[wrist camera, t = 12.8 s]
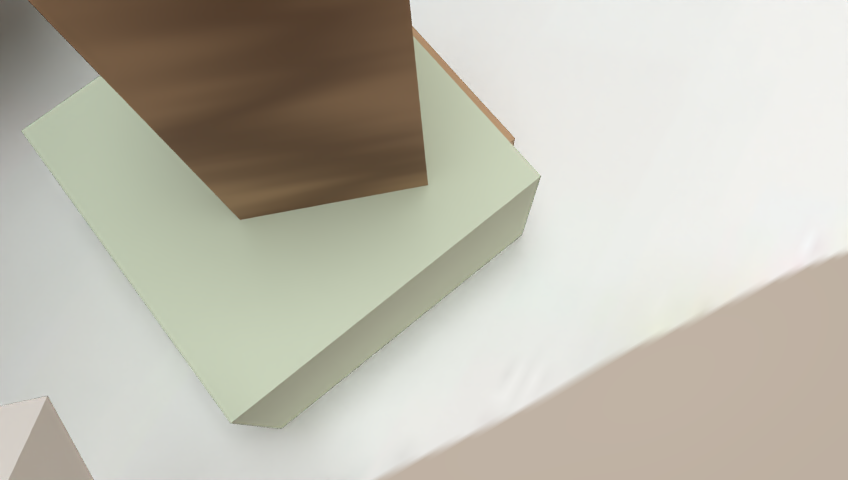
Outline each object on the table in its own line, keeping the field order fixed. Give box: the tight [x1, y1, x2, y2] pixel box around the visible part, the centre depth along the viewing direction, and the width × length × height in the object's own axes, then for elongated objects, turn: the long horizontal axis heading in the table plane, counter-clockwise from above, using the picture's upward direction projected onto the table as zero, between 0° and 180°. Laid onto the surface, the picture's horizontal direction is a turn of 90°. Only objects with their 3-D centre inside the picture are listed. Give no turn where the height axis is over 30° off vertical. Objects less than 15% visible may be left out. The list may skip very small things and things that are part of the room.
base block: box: [22, 26, 541, 429], centre depth 24 cm, size 10×10×6 cm
